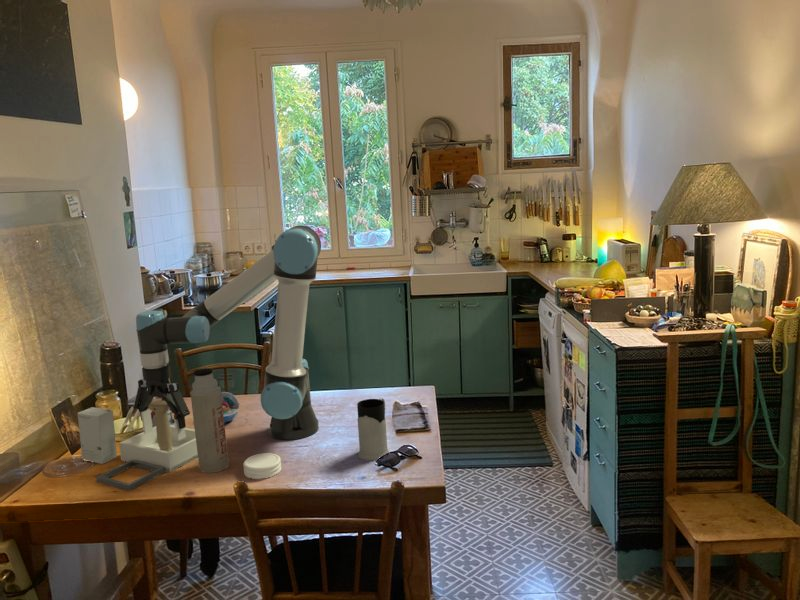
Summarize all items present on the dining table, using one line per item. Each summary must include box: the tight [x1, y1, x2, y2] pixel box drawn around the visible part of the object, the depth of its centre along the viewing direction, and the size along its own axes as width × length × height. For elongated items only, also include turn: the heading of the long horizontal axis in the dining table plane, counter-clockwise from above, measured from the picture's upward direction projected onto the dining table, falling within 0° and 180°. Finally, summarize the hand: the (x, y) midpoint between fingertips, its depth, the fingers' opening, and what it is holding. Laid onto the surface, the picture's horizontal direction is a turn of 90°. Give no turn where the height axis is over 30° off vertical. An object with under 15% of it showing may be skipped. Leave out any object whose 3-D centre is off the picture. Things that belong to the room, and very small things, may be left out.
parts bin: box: [118, 425, 198, 473], centre depth 199 cm, size 20×16×6 cm
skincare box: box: [77, 406, 118, 465], centre depth 198 cm, size 8×6×15 cm
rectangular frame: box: [95, 460, 166, 492], centre depth 186 cm, size 13×12×2 cm
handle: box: [148, 400, 172, 452], centre depth 198 cm, size 5×6×15 cm
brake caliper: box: [150, 399, 180, 427], centre depth 217 cm, size 11×11×12 cm
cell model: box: [221, 391, 241, 424], centre depth 224 cm, size 10×12×10 cm
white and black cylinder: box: [356, 397, 390, 461], centre depth 194 cm, size 9×14×15 cm, turn 160°
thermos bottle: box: [190, 367, 230, 474], centre depth 187 cm, size 8×8×28 cm
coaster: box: [243, 452, 282, 480], centre depth 185 cm, size 10×10×4 cm
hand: (164, 435), depth 198 cm, fingers open, 13 cm apart
